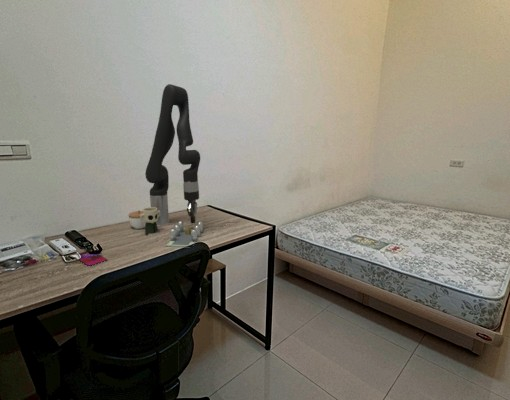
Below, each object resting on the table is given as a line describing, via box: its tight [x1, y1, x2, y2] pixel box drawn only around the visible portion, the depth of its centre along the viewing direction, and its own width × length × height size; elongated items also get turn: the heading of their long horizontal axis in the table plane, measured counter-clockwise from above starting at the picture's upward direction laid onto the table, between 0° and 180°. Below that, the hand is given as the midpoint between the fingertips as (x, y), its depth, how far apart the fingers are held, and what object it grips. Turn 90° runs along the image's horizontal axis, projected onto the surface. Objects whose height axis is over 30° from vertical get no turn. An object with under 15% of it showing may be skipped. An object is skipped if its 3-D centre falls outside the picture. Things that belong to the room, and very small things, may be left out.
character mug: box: [140, 206, 160, 235], centre depth 150 cm, size 11×7×13 cm, turn 138°
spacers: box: [169, 220, 204, 243], centre depth 144 cm, size 13×15×6 cm
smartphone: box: [78, 250, 108, 267], centre depth 121 cm, size 8×1×15 cm
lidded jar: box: [128, 210, 146, 230], centre depth 159 cm, size 11×11×9 cm
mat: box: [165, 228, 205, 248], centre depth 143 cm, size 12×24×2 cm, turn 177°
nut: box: [184, 226, 194, 235], centre depth 148 cm, size 4×5×3 cm
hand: (193, 222), depth 152 cm, fingers closed
